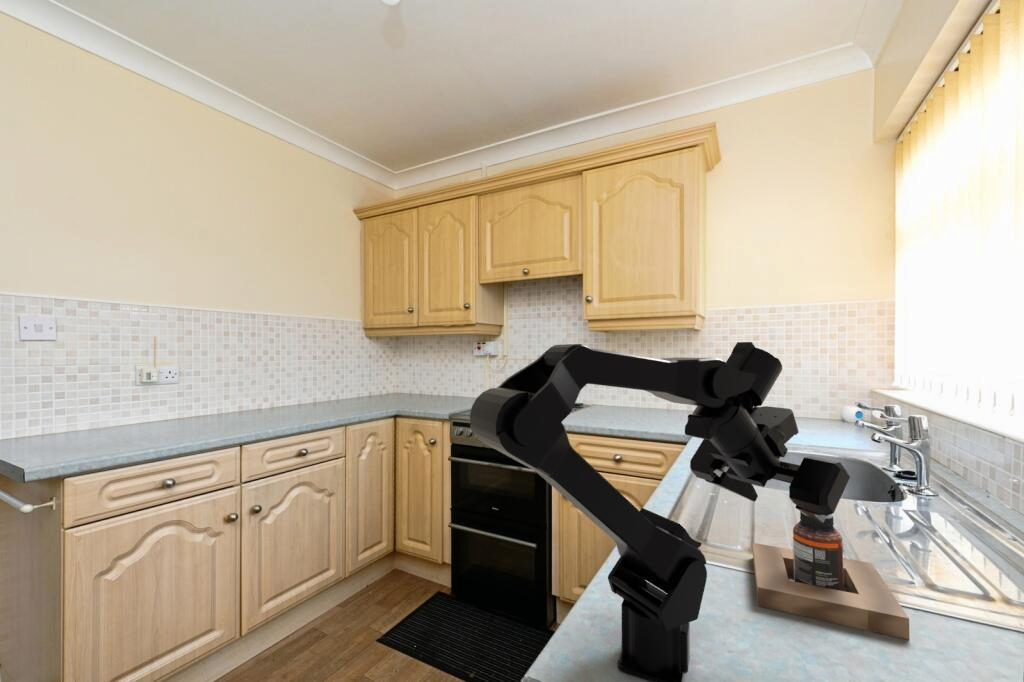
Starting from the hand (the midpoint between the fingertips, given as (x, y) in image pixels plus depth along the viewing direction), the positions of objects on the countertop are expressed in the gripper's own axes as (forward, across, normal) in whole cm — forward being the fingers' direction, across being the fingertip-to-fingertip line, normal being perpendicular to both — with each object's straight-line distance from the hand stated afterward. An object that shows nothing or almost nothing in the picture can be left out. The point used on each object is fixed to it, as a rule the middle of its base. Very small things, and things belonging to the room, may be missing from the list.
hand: (787, 508), depth 61 cm
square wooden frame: (+14, 0, +4) cm, 15 cm away
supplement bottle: (+14, 0, +4) cm, 15 cm away
